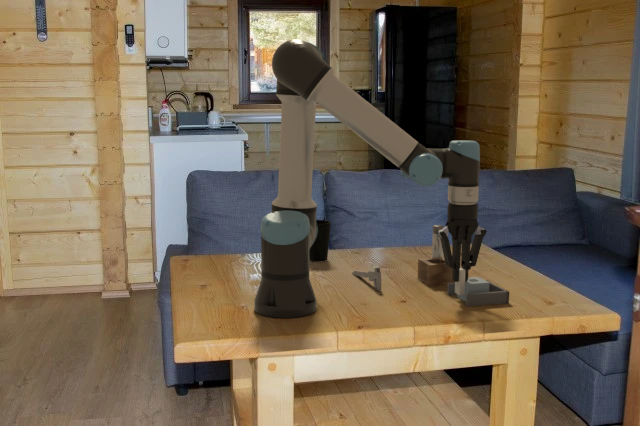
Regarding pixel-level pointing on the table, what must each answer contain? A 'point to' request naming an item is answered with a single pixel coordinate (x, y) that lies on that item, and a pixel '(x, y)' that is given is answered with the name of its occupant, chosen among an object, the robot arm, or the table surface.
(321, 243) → the cup
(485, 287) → the block
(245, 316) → the table surface
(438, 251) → the cylinder
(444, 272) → the bore block
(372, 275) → the caliper
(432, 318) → the table surface
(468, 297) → the corral
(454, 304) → the table surface
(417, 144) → the robot arm
